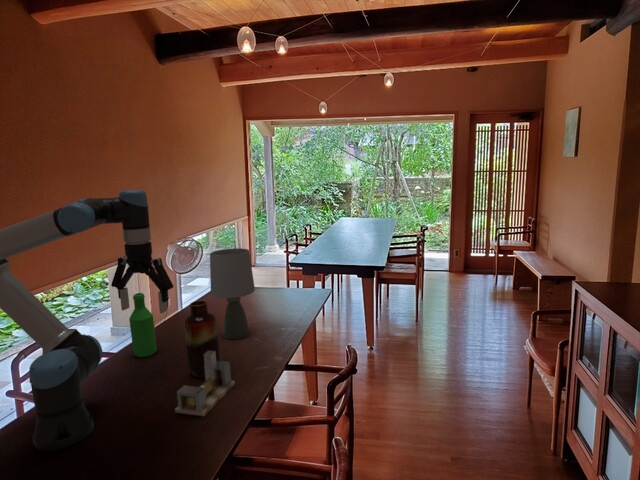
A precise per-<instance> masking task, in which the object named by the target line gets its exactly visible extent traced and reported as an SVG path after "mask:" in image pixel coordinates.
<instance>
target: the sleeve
mask: <svg viewBox="0 0 640 480" xmlns="http://www.w3.org/2000/svg"><path fill="white" fill-rule="evenodd" d="M188 396H191V397H195V402H196V412H201V411H202V410H203V409H204V408H205V407H206V406H207V401H206V390H205V388H203V387H199V386H193V385H182V386H181V387H180V388H179V389H178V390H177V391H176V397H177V398H176V399H177V407H178V409H179V410H182V409H183V408H185V407H186V406H185V403H184V401H185V399H186V398H187V397H188Z"/></svg>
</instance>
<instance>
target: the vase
mask: <svg viewBox="0 0 640 480" xmlns="http://www.w3.org/2000/svg"><path fill="white" fill-rule="evenodd" d="M189 310H190V314H189V315H187V316H186V318H185V319H184V321H183V325H184V326H183V327H184V335H185V336H184V337H185V346H186V347H185V348H186V354H187V355H186V357H187V364H188V369H189V371H191V374H192V377H194V378H197V379H205V370H204V365H205V364H204V354H205V353H206V352H207V351H215V352H216V361H221V360H220V359H221V358H220V347H219V346H220V345H219V338H218V326H217V318H216V316H215V315H214V314H213V313H212V312H209V311H208V302H207V301H204V300H197V301H193V302H190V304H189Z"/></svg>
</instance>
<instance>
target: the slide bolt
mask: <svg viewBox="0 0 640 480" xmlns="http://www.w3.org/2000/svg"><path fill="white" fill-rule="evenodd" d="M204 364H205V374H206V380H205V381H204V382H202V383H201V384H200V385H199V386H198V387H203V388H205V390H206V395H207V394H208V393H209V392H210V391H211V390H212V389H215V388H216V387H217V386H218V384H219V383H220V382H221V381H222V376H221V371H217V363H216V352H215V351H207V352H206V353H205V354H204ZM184 403H185V406H186V407H187V408H189V409H193V408H194V407H195V406H196V402H195V397H191V396H188V397H187V398H186V399H185V401H184Z"/></svg>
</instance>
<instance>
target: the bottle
mask: <svg viewBox="0 0 640 480" xmlns="http://www.w3.org/2000/svg"><path fill="white" fill-rule="evenodd" d="M145 297H146V296H145V294H144V292H138V293H135V294H133V296H132V300H133V305H134V309H133V311H132V313H131V314H130V317H129V320H128V321H129V326H130V334H131V335H130V337H131V343H132V350H133V356H136V358H148V357H150V356H153V355H155V353H156V352H157V350H158V348H157V347H158V346H157V341H156V339H157V337H156V332H155V331H156V330H155V321H154V315H153V313H152V312H151V311H150V310H149V309H148V308H147V307H146V304H145V303H146V302H145Z"/></svg>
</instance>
